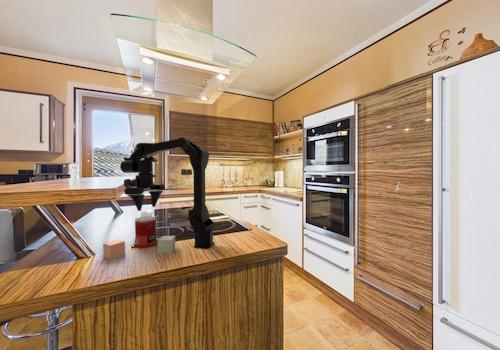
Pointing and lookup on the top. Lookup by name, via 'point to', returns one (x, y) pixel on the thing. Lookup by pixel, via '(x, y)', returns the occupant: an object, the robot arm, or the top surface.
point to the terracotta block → (113, 249)
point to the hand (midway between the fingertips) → (146, 208)
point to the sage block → (166, 244)
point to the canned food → (145, 231)
